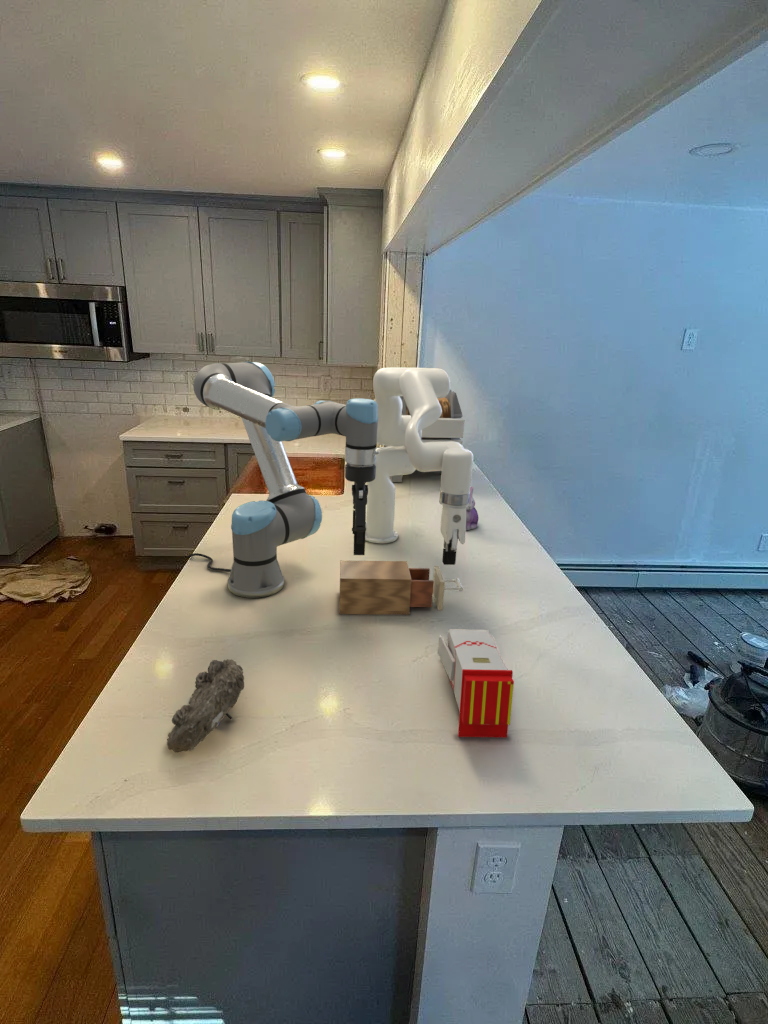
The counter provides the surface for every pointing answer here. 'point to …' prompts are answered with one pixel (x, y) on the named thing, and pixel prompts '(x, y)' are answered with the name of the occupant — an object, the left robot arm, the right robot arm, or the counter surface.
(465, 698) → the toy
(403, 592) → the cabinet
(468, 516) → the figurine
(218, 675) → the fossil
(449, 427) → the grey storage bin
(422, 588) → the drawer
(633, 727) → the counter surface
